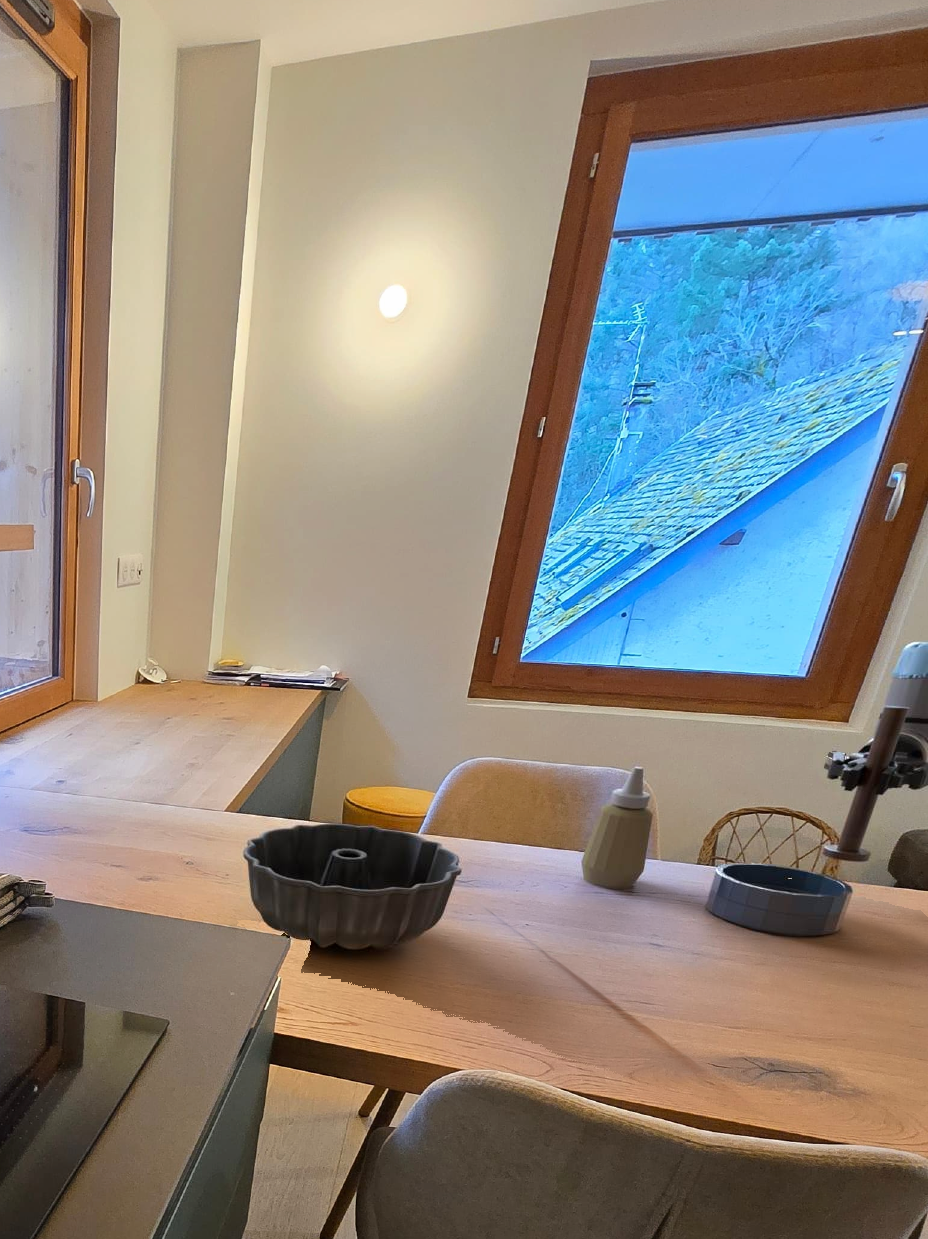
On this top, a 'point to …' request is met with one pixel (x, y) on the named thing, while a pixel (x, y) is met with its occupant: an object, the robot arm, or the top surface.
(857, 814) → the stirring stick
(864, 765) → the robot arm
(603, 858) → the squeeze bottle
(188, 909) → the top surface
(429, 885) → the bundt pan
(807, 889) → the bowl
